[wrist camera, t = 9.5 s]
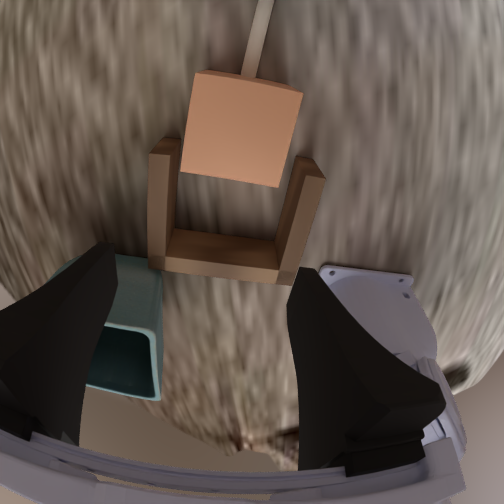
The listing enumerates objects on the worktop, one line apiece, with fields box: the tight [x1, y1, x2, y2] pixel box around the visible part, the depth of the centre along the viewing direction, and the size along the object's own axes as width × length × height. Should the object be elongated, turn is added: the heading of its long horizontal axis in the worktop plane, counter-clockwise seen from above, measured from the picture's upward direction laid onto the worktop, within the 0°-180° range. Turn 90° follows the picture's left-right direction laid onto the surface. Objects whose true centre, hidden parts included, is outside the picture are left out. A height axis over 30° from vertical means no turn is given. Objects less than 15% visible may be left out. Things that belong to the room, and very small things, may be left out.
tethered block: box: [180, 0, 304, 188], centre depth 13 cm, size 5×14×6 cm, turn 168°
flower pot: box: [45, 254, 164, 401], centre depth 21 cm, size 9×9×9 cm
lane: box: [147, 137, 326, 286], centre depth 20 cm, size 10×8×4 cm
